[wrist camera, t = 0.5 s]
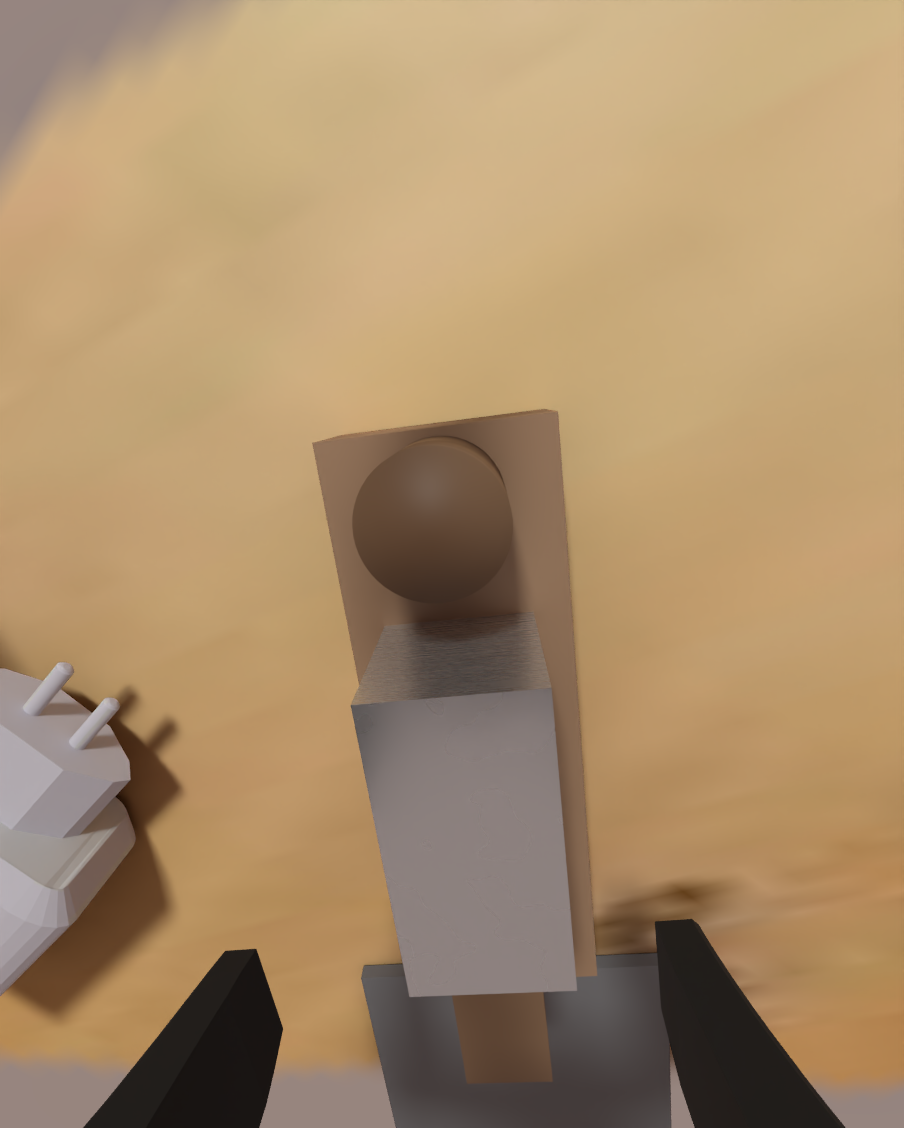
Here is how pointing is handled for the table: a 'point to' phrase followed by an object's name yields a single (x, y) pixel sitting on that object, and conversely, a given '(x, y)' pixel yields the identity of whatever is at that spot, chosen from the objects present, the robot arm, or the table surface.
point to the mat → (577, 1051)
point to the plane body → (465, 590)
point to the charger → (54, 812)
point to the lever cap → (468, 805)
